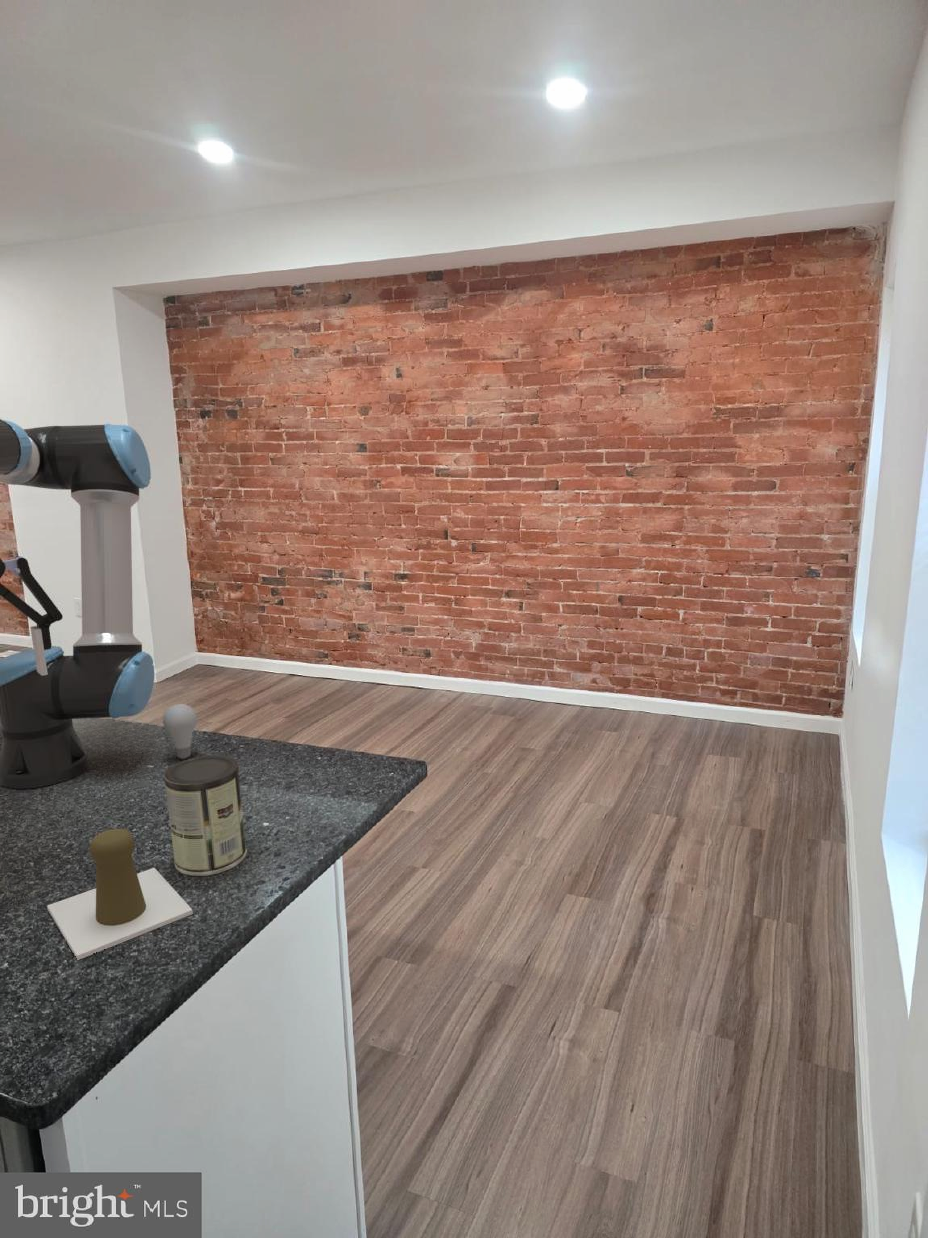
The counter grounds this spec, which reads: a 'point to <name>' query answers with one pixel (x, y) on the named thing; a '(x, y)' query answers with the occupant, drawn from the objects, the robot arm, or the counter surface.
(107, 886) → the cork
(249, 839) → the counter surface
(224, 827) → the coffee can
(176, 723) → the lightbulb
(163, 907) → the white pad
